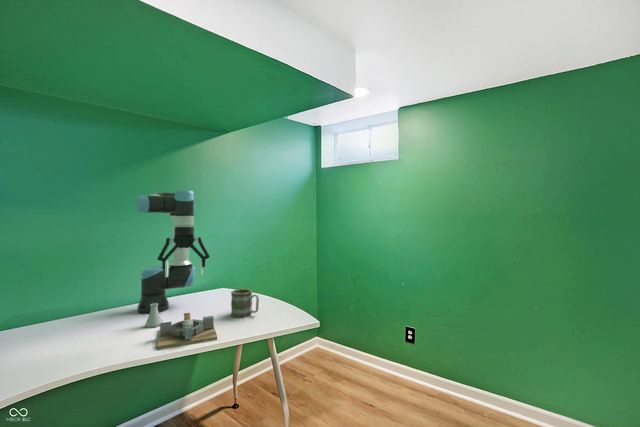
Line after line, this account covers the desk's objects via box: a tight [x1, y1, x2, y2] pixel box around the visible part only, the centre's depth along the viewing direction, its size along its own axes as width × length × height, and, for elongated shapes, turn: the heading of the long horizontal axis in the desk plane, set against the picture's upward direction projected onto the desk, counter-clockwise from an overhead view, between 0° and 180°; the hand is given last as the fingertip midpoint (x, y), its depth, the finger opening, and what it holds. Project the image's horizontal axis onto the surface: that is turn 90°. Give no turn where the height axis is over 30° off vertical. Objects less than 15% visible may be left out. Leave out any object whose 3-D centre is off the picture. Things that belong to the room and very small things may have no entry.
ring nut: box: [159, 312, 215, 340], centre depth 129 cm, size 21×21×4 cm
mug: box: [230, 288, 260, 319], centre depth 155 cm, size 16×11×12 cm
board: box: [156, 319, 218, 351], centre depth 129 cm, size 22×22×6 cm
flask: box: [144, 303, 164, 329], centre depth 140 cm, size 7×7×10 cm
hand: (184, 275), depth 128 cm, fingers open, 13 cm apart
